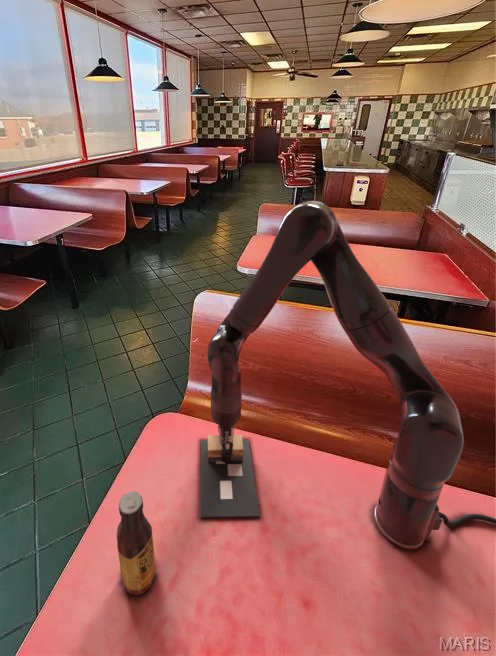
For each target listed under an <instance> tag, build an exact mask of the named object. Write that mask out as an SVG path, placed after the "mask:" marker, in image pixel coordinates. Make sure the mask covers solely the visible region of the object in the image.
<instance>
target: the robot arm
mask: <svg viewBox="0 0 496 656" xmlns="http://www.w3.org/2000/svg"><path fill="white" fill-rule="evenodd" d="M274 237H275V238H274V240H273V242H272V244H271V246H270V247H269V250H268V252H267V254H266V256H265V257H264V260H263V262H262V263H261V265H260V266H259V268H258V270H257V271H256V272H255V274H254V276H252V278H251V280H250V281H249V282H248V283H247V285H246V286H245V288H243V291H242V292H241V293H240V295H239V296H238V298H237V300H236V301H235V302H234V304H233V305H232V307H231V309H230V311H229V313H228V314H227V315H226V316H225V318H224V319H223V320H222V321H221V323H220V324H219V326H218V327H217V329H216V330H215V332H214V334H213V336H212V338H211V339H210V341H209V343H208V347H207V361H208V365H209V369H210V371H211V387H210V417H211V420H212V421H213V422H214V423H215V424H216V425H217V433H218V435H219V443H220V444H221V452H222V453H221V455H222V462H230V457H232V449H233V435H234V433H235V425H237V424H238V423H239V422H240V420H241V417H242V369H241V367H240V365H239V358H240V354H241V352H242V349H243V347H244V344H245V343H246V341H247V339H248V338H249V337H250V335H251V334H253V333H255V332H257V330H258V329H259V328H260V327H261V325H262V324H263V323H264V321H265V320H266V319H267V318H268V315H269V314H270V313H271V312H272V310H273V309H274V307H275V306H276V304H277V302H278V301H279V300H280V297H282V294H283V293H284V291H285V290H286V288H287V287H288V286H289V284H290V283H291V281H292V280H293V279H294V278H295V276H297V274H299V272H300V271H301V270H302V269H303V268H304V267H305V266H306V265H307V264H308V263H310V262H311V264H313V266H314V267H315V270H317V272H318V273H319V275H320V277H321V279H322V282H323V284H324V287H325V290H326V293H327V296H328V299H329V301H330V305H331V307H332V310H333V312H334V315H335V317H336V319H337V321H338V323H339V325H340V326H341V328H342V329H343V331H344V333H345V334H346V336H347V338H348V339H349V341H350V342H351V344H352V345H353V347H354V348H355V349H356V350H357V352H358V353H359V354H360V355H362V356H363V358H365V359H366V360H368V362H370V363H371V364H372V365H374V366H375V367H377V368H378V369H379V370H380V371H381V372H382V373H383V374H384V375H385V377H386V378H387V380H388V381H389V383H390V385H391V386H392V389H393V390H394V392H395V395H396V396H397V398H398V401H399V403H400V408H401V409H400V425H399V430H398V434H397V438H396V440H395V441H396V442H395V443H393V445H392V447H391V451H390V455H389V458H388V462H387V465H386V470H385V473H384V477H383V479H382V484H381V488H380V491H379V494H378V496H377V497H378V498H377V503H376V506H375V508H374V513H373V517H374V521H375V524H376V526H377V528H378V529H379V531H380V533H381V534H382V535H383V536H384V537H385V538H386V539H387V540H388V541H389V542H390V543H392V544H393V545H395V546H397V547H399V548H402V549H406V550H416V549H418V548H420V547H421V546H423V544H424V541H429V539H430V537H431V534H432V531H439V530H440V527H441V525H442V522H443V523H444V524H443V525H445V526H447V527H448V528H455V527H458V526H461V525H463V524H464V523H467V522H469V521H473V520H475V521H485V522H487V523H488V522H489V523H491V524H495V525H496V518H495V517H493V516H489V515H486V514H485V515H484V514H481V513H480V514H479V513H468V514H465V515H463V516H460V517H458V518H456V519H454V520H451V521H450V520H449V518H448V516H447V515H446V514H445V513H443V512H441V511H440V508H439V505H438V501H439V498H440V496H441V493H442V491H443V487H444V484H445V482H447V481H448V480H450V479H451V477H452V475H453V474H454V472H455V469H456V467H457V465H458V463H459V460H460V457H461V456H462V452H463V450H464V449H463V448H464V443H465V439H464V432H463V426H462V421H461V416H460V411H459V409H458V406H457V404H456V403H455V402H454V400H453V399H452V397H451V396H450V395H449V394H448V392H447V391H446V390H445V388H443V386H442V385H441V383H440V382H439V381H438V380H437V378H436V377H435V376H434V375H433V374H432V372H431V371H430V370H429V368H428V367H427V366H426V364H425V363H424V361H423V360H422V358H421V356H420V354H419V352H418V350H417V347H416V345H415V344H414V343H413V341H412V339H411V337H410V335H409V334H408V333H407V330H406V329H405V327H404V325H403V323H402V321H401V320H400V318H399V317H398V315H397V314H396V312H395V310H394V308H393V307H392V305H391V304H390V302H389V301H388V299H387V298H386V297H385V295H384V294H383V292H382V291H381V289H380V288H379V287H378V285H377V283H376V282H375V281H374V280H373V278H372V276H371V275H370V274H369V273H368V272H367V271H366V269H365V268H364V267H363V265H362V264H361V263H360V261H359V259H358V258H357V257H356V255H355V254H354V251H353V250H352V248H351V246H350V244H349V242H348V240H347V238H346V236H345V234H344V232H343V230H342V227H341V225H340V223H339V221H338V218H337V216H336V214H335V213H334V211H333V210H332V208H330V207H329V206H328V205H327V204H325V203H323V202H321V201H318V200H306V201H303V202H301V203H298V204H296V205H294V206H293V207H292V208H290V209H289V210H288V211H287V212H286V213H285V214H284V216H283V218H282V220H281V222H280V226H279V228H278V230H277V232H276V235H275V236H274ZM221 435H222V437H223V438H225V439H222V438H221ZM230 436H231V437H230Z"/></svg>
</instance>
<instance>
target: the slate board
mask: <svg viewBox="0 0 496 656" xmlns="http://www.w3.org/2000/svg"><path fill="white" fill-rule="evenodd" d="M200 442H201V443H200V450H201V451H200V519H227V518H230V519H231V518H232V519H234V518H236V519H237V518H260V517H261V515H260V509H259V502H258V497H257V496H258V495H257V489H256V481H255V474H254V468H253V462H252V454H251V449H250V441H249V439H242V442H243V449H244V451H243V461H230V462H222V461H211V462H208V439H201V441H200Z"/></svg>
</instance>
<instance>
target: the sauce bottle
mask: <svg viewBox="0 0 496 656" xmlns="http://www.w3.org/2000/svg"><path fill="white" fill-rule="evenodd" d="M118 513H119V515H120V522H119V523H118V526H117V529H116V546H117V547H116V548H117V555H118V561H119V568H120V574H121V576H120V577H121V581H122V583H123V586H124V588H125V590H126V591H127V592H128V593H129V594H131V595H136V596H137V595H141V594H143V593H145V592H146V591H147V590H148V589H149V588H150V587H151V585H152V583H153V581H154V579H155V572H156V558H155V549H154V538H153V537H154V536H153V528H152V524H151V523H150V522H149V520H148V519H147V518H146V516H145V514H144V500H143V496H142V495H141V493H139V492H138V491H135V490H133V491H128V492H126V493H125V494H123V495H122V497H120V499H119V502H118Z"/></svg>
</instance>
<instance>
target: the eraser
mask: <svg viewBox="0 0 496 656" xmlns="http://www.w3.org/2000/svg"><path fill="white" fill-rule="evenodd" d="M230 437H231V436H230ZM221 438H222V439H225V438H223V437H222V435H221ZM207 440H208V462H211V461H222V455H221V453H222V452H221V444H220V443H219V434H218V435H217V434H215V435H207ZM242 440H243V436H242V434H233V449H232V457H230V461H243V451H244V449H243V442H242Z"/></svg>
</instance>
